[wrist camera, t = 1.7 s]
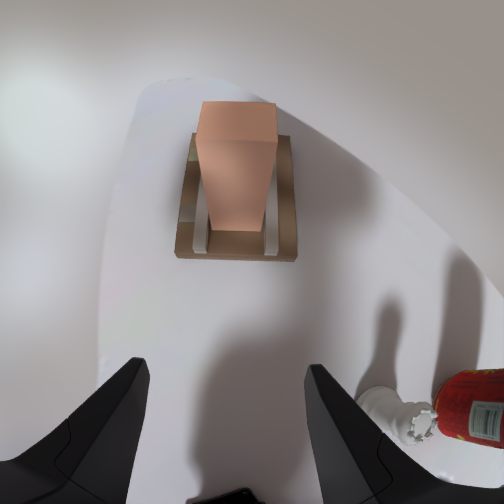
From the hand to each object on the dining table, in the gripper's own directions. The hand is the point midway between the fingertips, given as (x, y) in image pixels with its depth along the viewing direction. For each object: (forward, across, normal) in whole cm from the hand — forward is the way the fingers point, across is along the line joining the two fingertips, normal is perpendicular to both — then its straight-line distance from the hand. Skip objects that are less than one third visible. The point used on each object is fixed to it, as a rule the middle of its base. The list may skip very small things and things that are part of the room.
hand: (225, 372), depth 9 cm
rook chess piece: (+6, -12, +14) cm, 19 cm away
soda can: (+5, -22, +15) cm, 27 cm away
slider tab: (+17, 0, 0) cm, 17 cm away
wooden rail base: (+20, 0, -1) cm, 20 cm away
